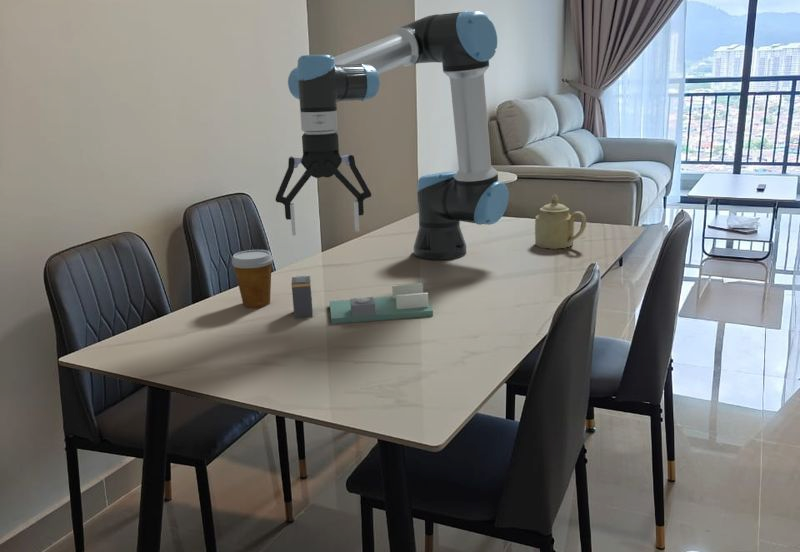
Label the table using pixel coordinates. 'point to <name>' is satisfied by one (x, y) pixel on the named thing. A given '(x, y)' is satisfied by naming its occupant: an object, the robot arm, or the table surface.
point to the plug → (302, 297)
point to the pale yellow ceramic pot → (556, 226)
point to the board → (383, 306)
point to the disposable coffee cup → (253, 276)
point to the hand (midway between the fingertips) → (325, 232)
